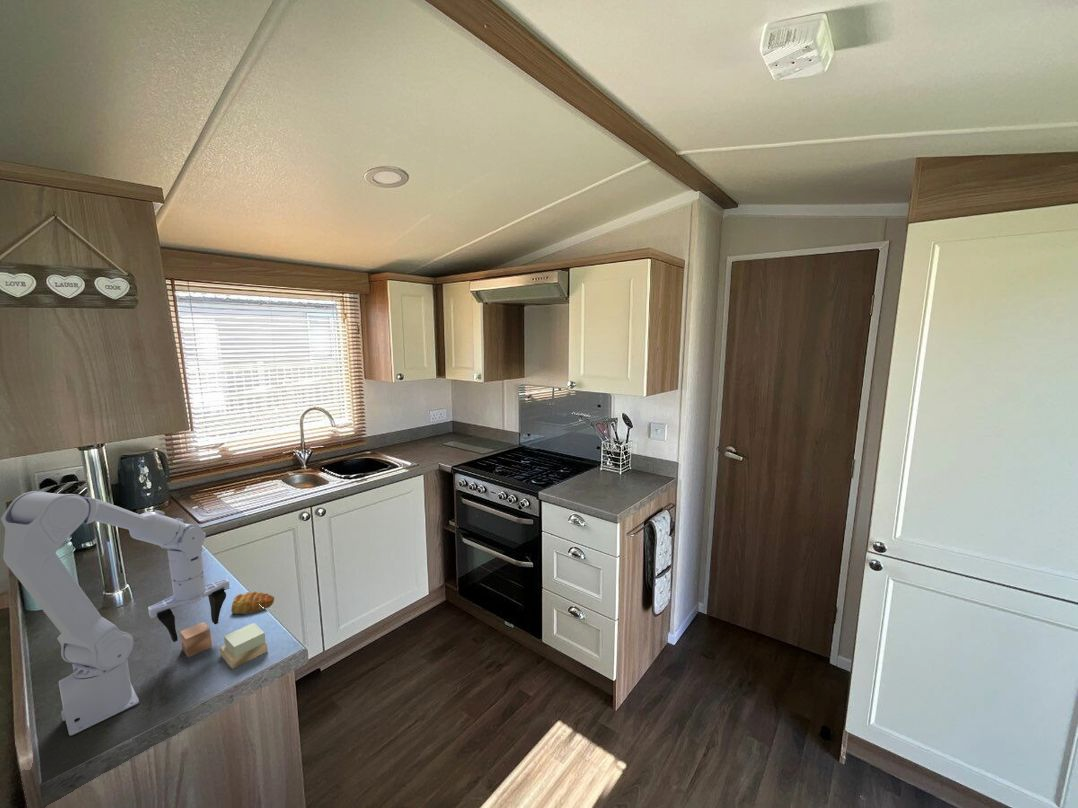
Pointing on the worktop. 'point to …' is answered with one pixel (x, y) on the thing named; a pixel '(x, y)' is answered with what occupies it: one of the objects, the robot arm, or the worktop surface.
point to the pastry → (251, 602)
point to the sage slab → (244, 639)
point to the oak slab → (243, 658)
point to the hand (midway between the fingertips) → (195, 630)
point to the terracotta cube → (195, 639)
